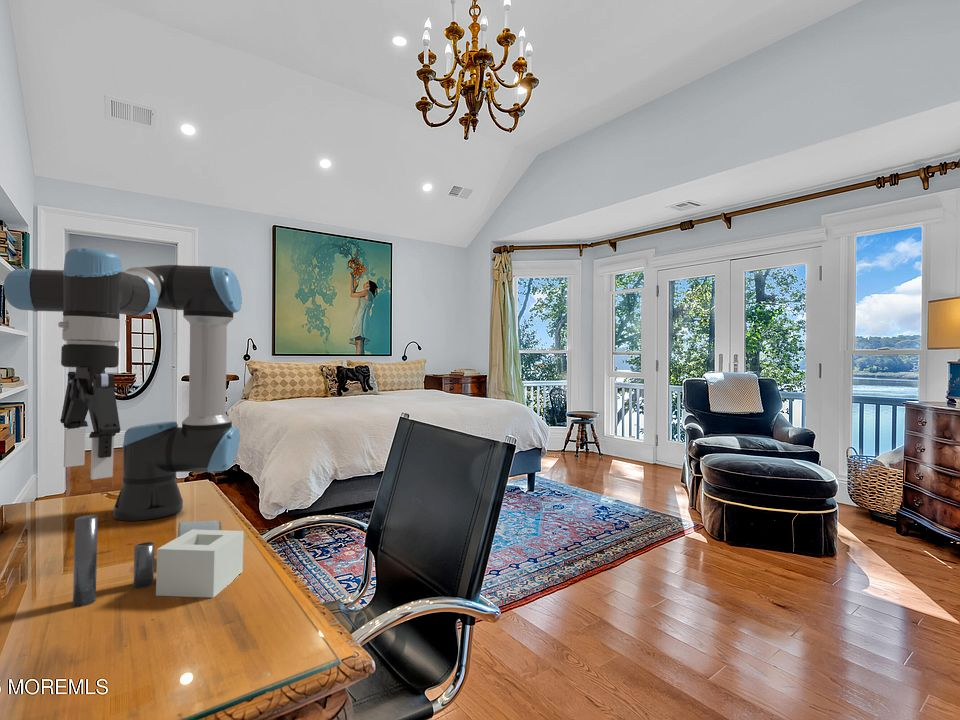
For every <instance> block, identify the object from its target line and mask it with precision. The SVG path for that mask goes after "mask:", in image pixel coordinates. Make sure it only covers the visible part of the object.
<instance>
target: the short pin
mask: <svg viewBox="0 0 960 720" xmlns="http://www.w3.org/2000/svg"><path fill="white" fill-rule="evenodd" d="M155 545H156V544H155V542H152V541H149V542H142V543H138V544H136V545H134V549H133V554H134V555H133V582H132V583H133V588H136V589H144V588H147V587H150V586H152V585H154V583H155V582H154V577H155V576H154V575H155V573H154V572H155Z"/></svg>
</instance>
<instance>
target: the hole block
mask: <svg viewBox="0 0 960 720" xmlns="http://www.w3.org/2000/svg"><path fill="white" fill-rule="evenodd" d="M244 532H245V531H244V530H225V529H223V530H196V529H192V530H190V531H188V532H187V533H185V534H183V535H181V536H179V537H178V536H177V537H176V538H174V539H173V540H171V541H169V542H167V543H165V544H163V545H162V546H160V547H158V548H157V549H156V573H155V574H156V578H155V579H156V581H155V597H180V598H181V597H184V598H188V597H189V598H209V599H211V598H212V599H214V598H215V597H216V596H217V595H219V594H220V593H221V592H222V591H223V590H224V589H225V588H226V587H228V586H229V585H230V584H232V583H233V580H234V579H235V578H236V577H237V576H238V575H239V574H240V573H242V572H243V571H244V570H243V567H244V565H243V564H244V538H245V537H244ZM242 574H243V573H242ZM238 577H239V576H238ZM238 577H237V578H238ZM237 578H236V579H237ZM236 579H235V580H236ZM235 580H234V581H235ZM227 585H228V586H227Z"/></svg>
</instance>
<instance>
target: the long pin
mask: <svg viewBox="0 0 960 720" xmlns="http://www.w3.org/2000/svg"><path fill="white" fill-rule="evenodd" d="M98 525H99V515H96V514H90V515H89V514H88V515H83V516H82V515H81V516H78V517H76V518H75V519H74V539H73V540H74V541H73V542H74V544H73V545H74V546H73V552H74V553H73V579H72V580H73V581H72V582H73V585H72V586H73V587H72V589H73V590H72V606H73V607H75V608H76V607H79V608H80V607H84V606H85V607H86V606H87V605H88V606H89V605H91V604H93V603H95V602H96V600H97V574H98V573H97V571H98V570H97V568H98V531H99V526H98Z"/></svg>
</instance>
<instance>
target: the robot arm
mask: <svg viewBox="0 0 960 720" xmlns="http://www.w3.org/2000/svg"><path fill="white" fill-rule="evenodd" d="M3 291H4V293H3V294H4V296H5V299H6V301H7V302H8V303H9V305H11V307H13V308H15V309H17V310H21V311H33V312H36V313H37V312H58V313H59V312H60V313H61V312H62V316H63V317H62V321H58V328H61V329H62V334H61V335H62V340H63V342H64V341H65V342H66V344H63V345H62V346H61V351H60V353H61V356H60V360H61V361H60V365H61V366H62V367H63V368H75V371H68V373H67V382H66V383H67V385H66V390H65V395H64V400H63V406H62V412H61V416H60V419H59V420H60V423H61V424H63V427H64V445H63V447H64V449H63V467H64V468H71V467H77V466H79V467H80V466H85V459H86V458H85V457H86V454H85V453H86V427H89V425H88V422H87V420H86V418H87V415H88V413H89V417H90V420H91V425H92V430H93V431H90V433H89V436H88V437H89V438H90V439H91V445H90V446H91V448H90V451H91V452H90V480H98V479H99V480H100V479H107V478H113V477H114V452H115V451H114V448H115V447H114V445H115V443H114V442H115V436H116V434H119V433H120V432H121V425H120V420H119V419H120V417H119V412H118V406H117V399H116V390H115V375H114V373H106V371H105V370H106V369H108V368H111V369H113V368H114V369H115V368H117V367H118V366H119V356H120V355H119V354H120V353H119V352H120V348H119V347H118V346H117V345H116V343H119V342H120V338H121V337H120V336H121V335H120V334H121V319H120V318H121V317H120V316H121V315H126V316H129V317H132V316H133V317H136V316H137V317H141V316H145V315H148V314H150V313H151V312H152V311H154V310H155V308H157V309H165V310H177V311H183V312H182V313H183V315H182V316H183V318H184V319H185V320H186V321H187V322H188V323H189V374H188V375H189V381H188V382H189V385H188V388H189V389H188V415H187V416H186V418H184V419H183V421H182V422H181V425H182V426H181V427H180V426H179V424H178V422H177V421H175V420H173V421H162V422H153V423H147V424H146V423H145V424H141V425H135V426H131V427H130V428H128V429H126V430H125V432H124V436H123V443H122V449H123V450H122V454H123V455H122V456H123V457H122V462H123V463H122V484H121V485H122V486H121V488H120V491H119V493H118V496H117V498H116V501H115V504H114V506H113V514H112V515H113V518H114V519H116V520H118V521H127V522H131V521H132V522H135V521H136V522H138V521H149V520H154V519H160V518H164V517H168V516H172V515H175V514H177V513H179V512H181V511H182V510H183V508H184V507H183V506H184V500H183V496H182V494H181V491H180V487H179V485H178V483H177V473H189V472H190V473H194V472H195V473H196V472H197V473H199V472H201V473H202V472H203V473H205V472H206V473H215V472H223V471H227V470H228V469H229V468H231V467H232V465H233V464H234V461H235V460H236V458H237V455H238V451H239V447H240V440H241V439H240V438H241V437H240V436H241V435H240V430H239V428H238V427H235V426H233V425H232V424H233V423H232V422H233V419H232V418H231V417H230V416H229V415H228V414H227V412H226V411H227V409H226V408H227V407H226V406H227V405H226V404H227V354H228V353H227V351H228V349H227V343H228V341H227V340H228V338H227V337H228V335H227V334H228V332H227V331H228V325H229V324H230V323H231V322H232V321H233V320H234V314H235V313H238V312H239V311H240V310H242V309H241V308H242V304H243V299H242V298H243V297H242V290H241V285H240V282H239V279H238V278H237V275H236V274H235V272H234V271H233V270H231V269H230V268H227V267H222V266H221V267H219V266H208V265H207V266H206V265H204V266H203V265H181V264H180V265H179V264H161V265H154V266H153V265H152V266H142V267H141V266H140V267H139V266H138V267H137V266H135V267H130V268H128V269H126V270H123V267H122V259H121V257H120V256H119V255H118V254H117V253H115V252H114V253H113V252H112V251H111V252H110V251H108V250H107V251H106V250H102V249H101V250H100V249H95V248H79V247H78V248H72V249H69V250H67V251H66V253H65V256H64V264H63V270H62V269H40V268H39V269H36V268H18V269H14V270H12V271H10V272H9V273H8V274H7V275H6V277H5V278H4V280H3Z"/></svg>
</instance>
